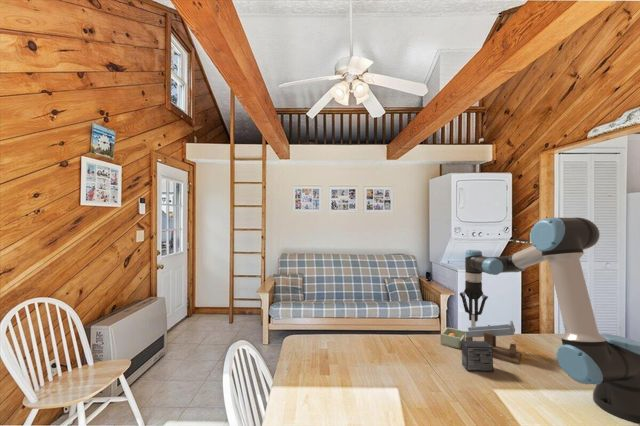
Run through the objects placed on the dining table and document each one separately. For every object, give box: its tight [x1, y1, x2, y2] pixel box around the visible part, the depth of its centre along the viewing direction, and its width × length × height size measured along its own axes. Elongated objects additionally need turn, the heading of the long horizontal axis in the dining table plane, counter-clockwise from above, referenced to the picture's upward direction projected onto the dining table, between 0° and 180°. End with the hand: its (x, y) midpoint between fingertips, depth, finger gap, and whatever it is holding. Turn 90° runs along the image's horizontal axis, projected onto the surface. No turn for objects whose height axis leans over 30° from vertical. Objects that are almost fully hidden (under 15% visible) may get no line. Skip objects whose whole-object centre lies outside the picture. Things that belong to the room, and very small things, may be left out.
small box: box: [461, 340, 494, 373], centre depth 128 cm, size 11×6×10 cm, turn 84°
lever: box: [464, 320, 516, 338], centre depth 145 cm, size 14×20×4 cm
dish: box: [440, 326, 466, 350], centre depth 153 cm, size 11×9×5 cm
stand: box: [460, 324, 521, 364], centre depth 143 cm, size 11×23×11 cm, turn 52°
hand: (473, 327), depth 154 cm, fingers closed
